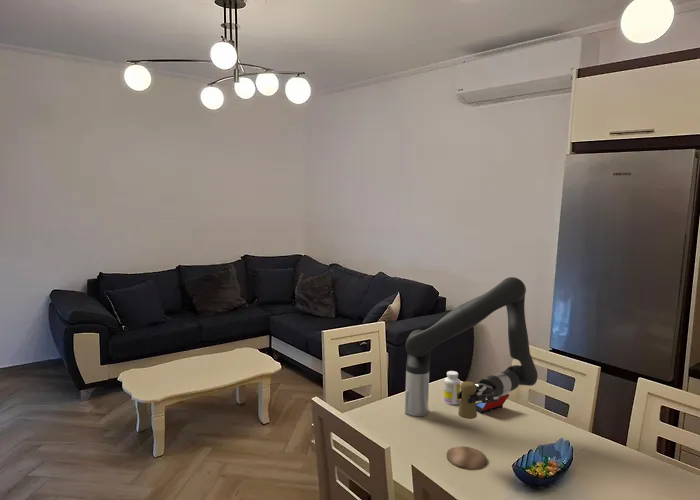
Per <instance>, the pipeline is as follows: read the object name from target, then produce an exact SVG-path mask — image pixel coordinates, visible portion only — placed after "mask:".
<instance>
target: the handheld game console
mask: <svg viewBox="0 0 700 500" xmlns="http://www.w3.org/2000/svg"><path fill="white" fill-rule="evenodd" d="M509 397H510V394H508V393H506V394H505V395H502V396H500V397H499V399H498V401H496V402H489V403H482V401H480V402H476V411H477V413H479V414H481V415H484V414H486V413H490V412H491V411H496V410H499V409H503V407H504V404H505V402H507V399H508V398H509Z"/></svg>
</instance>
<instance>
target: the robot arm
mask: <svg viewBox="0 0 700 500" xmlns="http://www.w3.org/2000/svg"><path fill="white" fill-rule="evenodd" d="M526 292H527V288H526V285H525V283H524V282H523V280H522V279H520V278H518V277H513V276H510V277H507V278H504V279H503V280H502V281H501V282H500V283H498V284H497V285H495V286H494V287H492V288H491V289H490V290H488V291H486V292H485V293H483V294H481V295H479V296H476V297H475V298H472V299H470V300H469V301H466V302H464V303H462V304H460V305H459V306H456V307H454V309H452V310H450V311H449V312H447V314H445V315H444V316H442V317H441V318H440V319H439V320H438V321H437V322H435V323H434V324H433V325H431V326H430V327H428V328H426V329H423V330H422V329H415V330H413V331H411V332H410V334H409V335H408V337H407V338H406V342H405V350H406V353H407V356H406V357H407V359H406V364H405V401H404V402H405V403H404V405H405V406H404V414H405V415H409V416H413V417H423V416H427V415H428V413H429V395H430V394H429V389H430V388H429V387H430V365H431V352H432V351H431V350H433V349H434V348H436V347H437V346H439V345H441V344H442V343H444V342H445V341H447V340H450V339H452V338H454V337H456V336H458V335H460V334H462V333H464V332H465V331H468V330H469V329H471V328H473V327H475V326H477V325H479V324H480V323H481V322H482V321H484V320H485V319H486V318H488V317H489V316H490V315H492V314H493V313H494V312H496V311H497V310H499V309H501V308H503V307H506V314H507V335H508V336H507V339H508V348H509V355H510V358H512V359H514V360H517V361H519V363H520V365H519V364H518V365H517V364H516V365H510V366H508V367H507V368H506V369H504V371H502V372H497V373H493V374H490V375H488V376H485V377H482V378H481V379H480V380H479V382H478V383H474V384H475V385H476V387H477V390H476V392H475V394H474V395H471V396H469V397H468V403H469V404H471V403H474V402H476V403H479V402H482V403H489V402H496V401H498V399H499V397H500V396H504V395H507V394H508V393H510V392H512V391H514V390H516V389H517V388H518V387H519V386H527V387H528V386H530V387H531V386H534V385H536V383H537V381H538V377H539V375H538V374H539V373H538V371H537V370H538V369H537V368H536V365H535V363H534V360H533V357H532V355H531V351H530V341H529V335H528V329H527V323H526V322H527V321H526V315H525V314H526V313H525V311H526V310H525V301H526V299H525V298H526ZM461 396H462V391H461V390H460V392H458V393H457V399H460V400H461Z"/></svg>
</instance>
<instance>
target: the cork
mask: <svg viewBox="0 0 700 500" xmlns="http://www.w3.org/2000/svg"><path fill="white" fill-rule="evenodd" d="M475 384H476V383H475V382H472V381H462V382H461V383H460V391H462V396H461V399H460V402H459V408H458V414H457V415H458V416H459V417H460V418H463V419H465V420H466V419H467V420H473V419H476V418H477V417H478V412H477V411H476V403H477V401H476V402H474V403H471V404H469V403H468V397H469V396H471V395H474V394H475V392H476V390H477V387H476V385H475Z"/></svg>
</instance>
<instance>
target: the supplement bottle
mask: <svg viewBox="0 0 700 500" xmlns="http://www.w3.org/2000/svg"><path fill="white" fill-rule="evenodd" d="M446 376H447V377H445V378H444V382H443V402H444V403H446V404H447V405H458V404H460V401H461V399H457V393H458V392H460V391H461V389H460V386H461V380H460V379H459V378H458V377H459V373H458V372H457V371H454V370H449V371H447V372H446Z"/></svg>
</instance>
